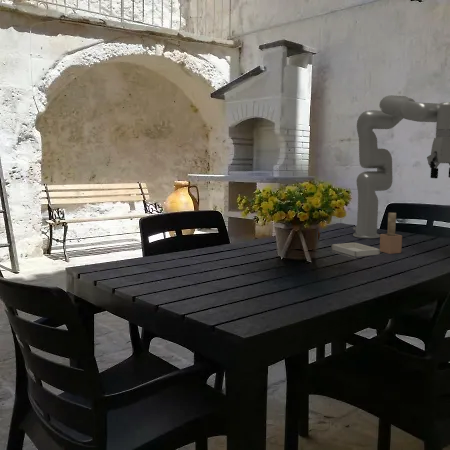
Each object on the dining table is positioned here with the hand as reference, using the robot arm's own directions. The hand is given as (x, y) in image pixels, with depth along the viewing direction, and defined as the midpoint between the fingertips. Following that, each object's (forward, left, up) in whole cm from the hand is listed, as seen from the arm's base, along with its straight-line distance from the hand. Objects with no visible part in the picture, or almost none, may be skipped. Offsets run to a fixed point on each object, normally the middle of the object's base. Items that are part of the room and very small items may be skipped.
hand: (443, 177), depth 206 cm
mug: (-29, -44, -31) cm, 61 cm away
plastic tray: (-14, -31, -31) cm, 46 cm away
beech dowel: (-8, -18, -30) cm, 36 cm away
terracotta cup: (-8, -18, -31) cm, 37 cm away
